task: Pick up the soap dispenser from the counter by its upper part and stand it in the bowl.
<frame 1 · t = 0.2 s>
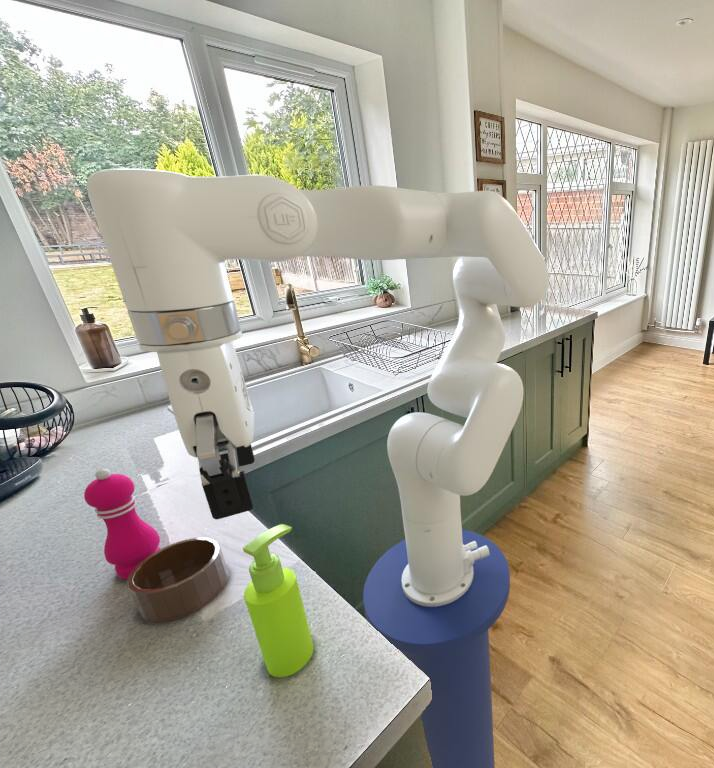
hand: (236, 487, 43), 31 cm above the worktop, tool pointing down, fingers open, 9 cm apart
pepper mill: (141, 566, 74), on the worktop
bowl: (186, 591, 69), on the worktop
soap dispenser: (294, 654, 58), on the worktop
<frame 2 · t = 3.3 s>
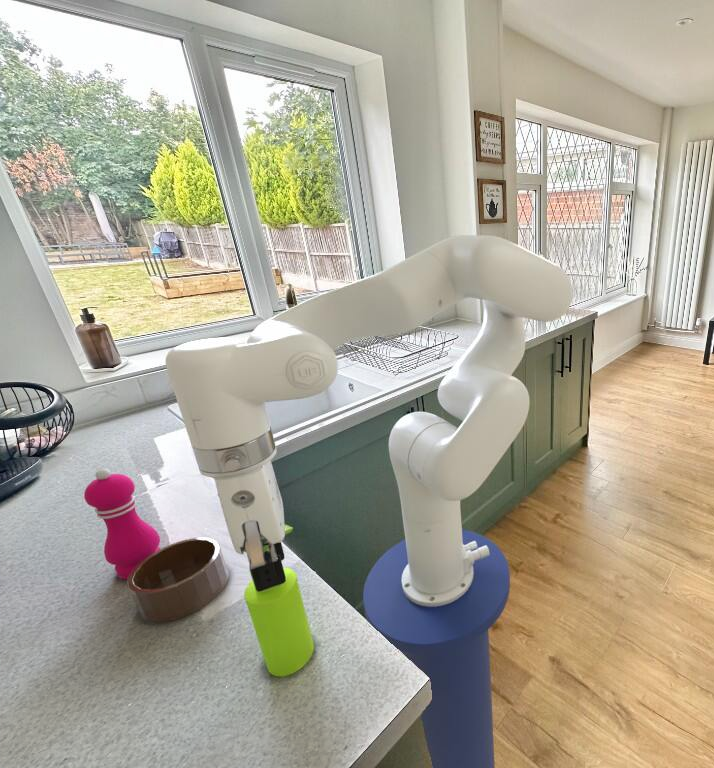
hand: (271, 572, 53), 15 cm above the worktop, tool pointing down, fingers closed on soap dispenser, 3 cm apart
soap dispenser: (294, 653, 58), on the worktop, touching gripper
everything else where it was.
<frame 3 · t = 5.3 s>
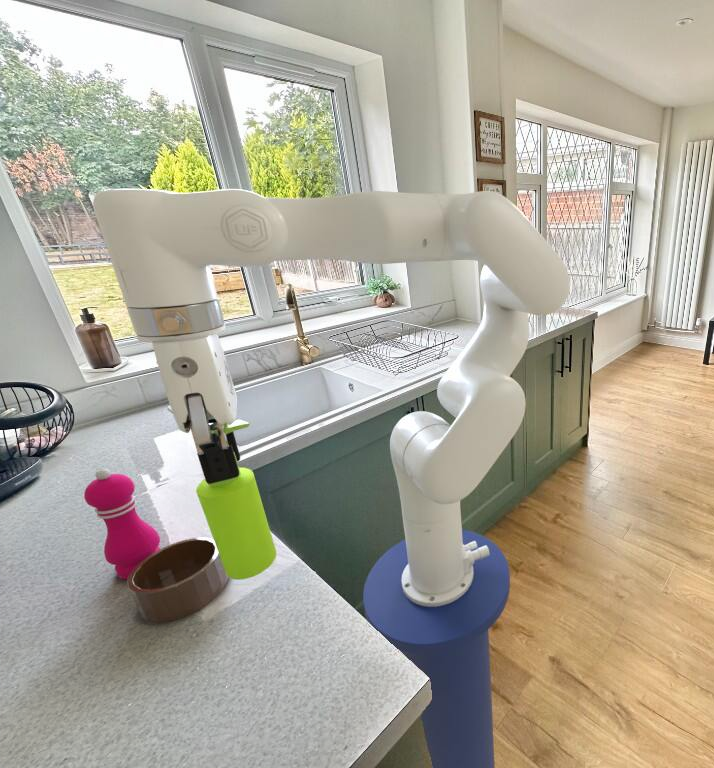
hand: (224, 469, 50), 29 cm above the worktop, tool pointing down, fingers closed on soap dispenser, 3 cm apart
soap dispenser: (255, 559, 56), point 14 cm above the worktop, touching gripper
everything else where it was.
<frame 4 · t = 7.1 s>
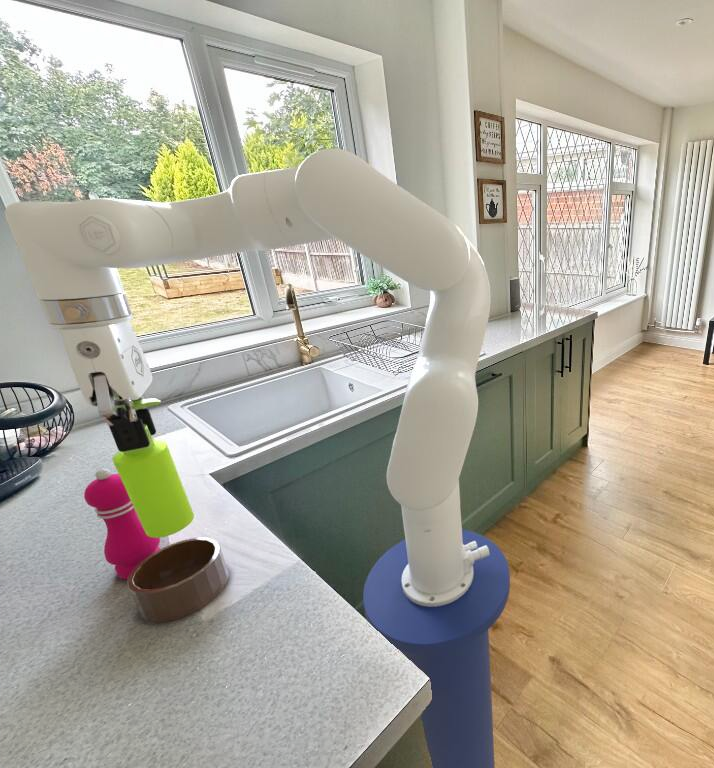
hand: (138, 441, 57), 29 cm above the worktop, tool pointing down, fingers closed on soap dispenser, 3 cm apart
soap dispenser: (174, 522, 64), point 14 cm above the worktop, touching gripper
everything else where it was.
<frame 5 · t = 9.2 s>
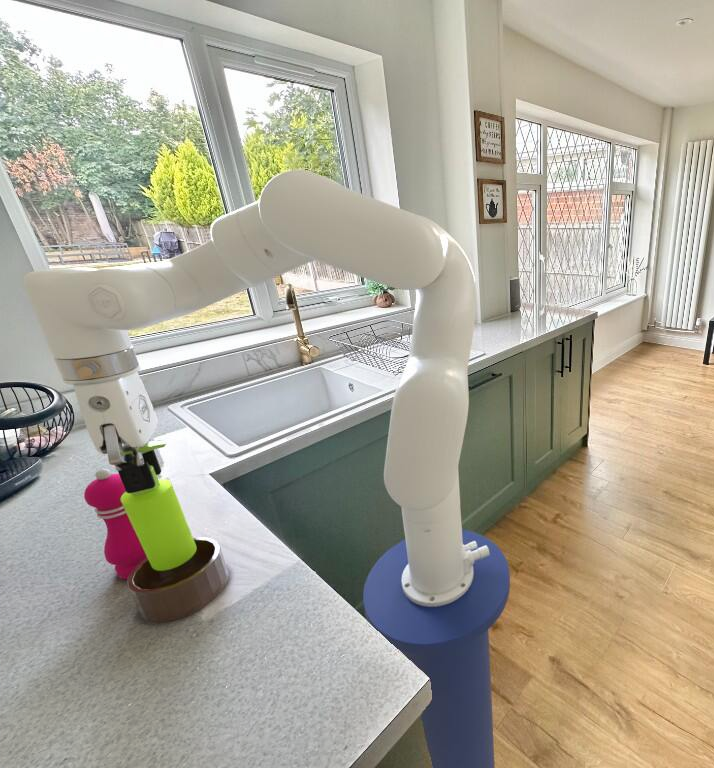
hand: (144, 481, 61), 21 cm above the worktop, tool pointing down, fingers closed on soap dispenser, 3 cm apart
soap dispenser: (178, 554, 67), point 7 cm above the worktop, touching gripper
everything else where it was.
when the fingers open (16 cm above the worktop, at t = 11.2 s): soap dispenser stays where it is, resting on bowl.
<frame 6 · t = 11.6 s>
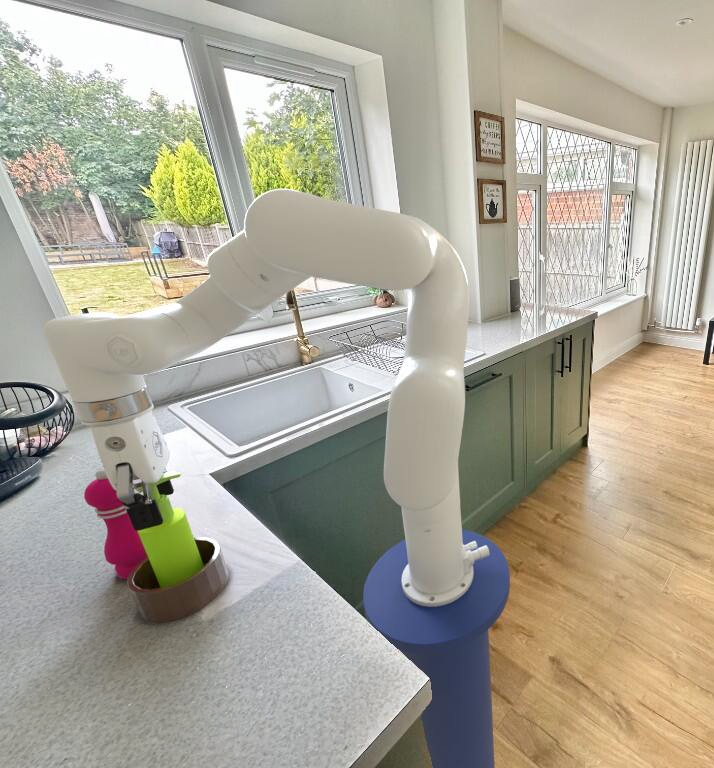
hand: (156, 509, 63), 16 cm above the worktop, tool pointing down, fingers open, 7 cm apart
soap dispenser: (189, 582, 69), point 1 cm above the worktop, touching bowl
everything else where it was.
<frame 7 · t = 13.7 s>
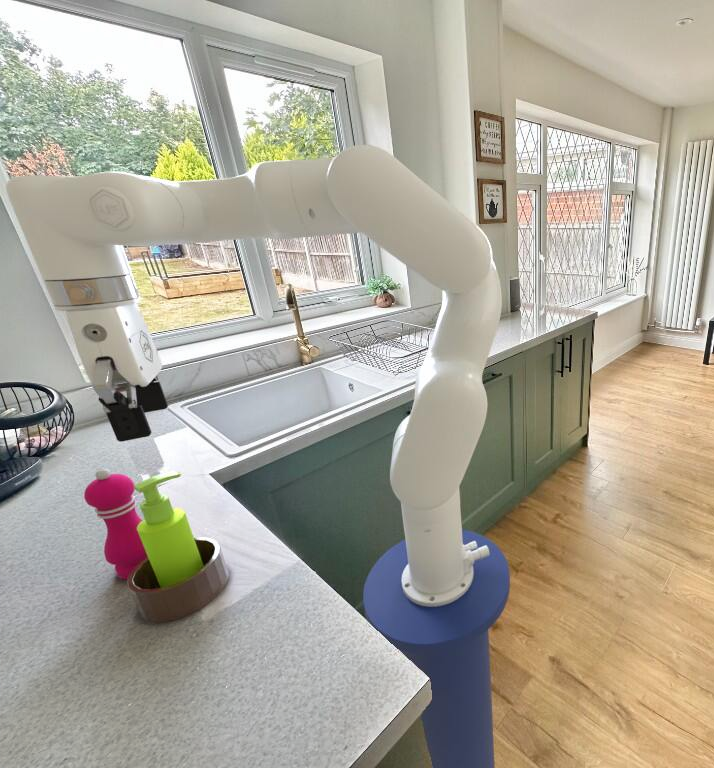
hand: (145, 423, 55), 32 cm above the worktop, tool pointing down, fingers open, 9 cm apart
nothing on the worktop moved.
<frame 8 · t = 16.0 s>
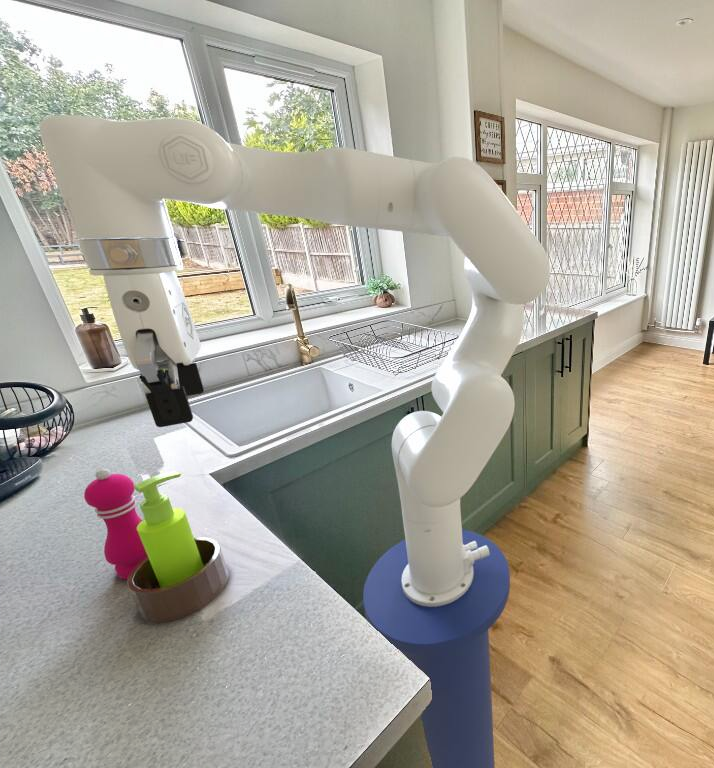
hand: (183, 408, 49), 36 cm above the worktop, tool pointing down, fingers open, 9 cm apart
nothing on the worktop moved.
at the end: soap dispenser 1.2 cm off-centre in the bowl, point 0.6 cm above the bowl's base; soap dispenser tilted 0°; the gripper is holding nothing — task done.
